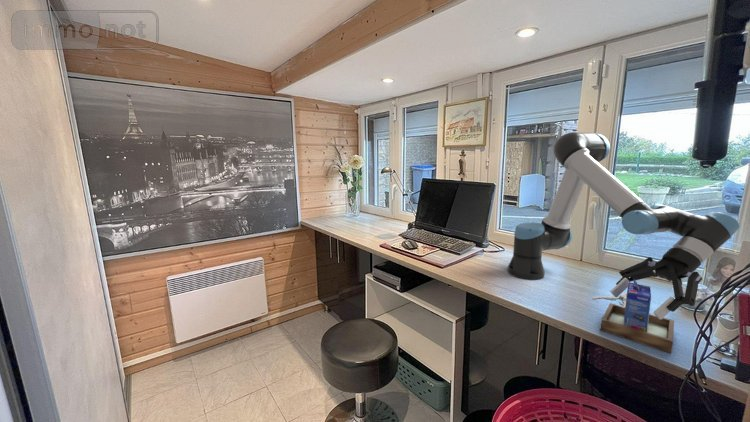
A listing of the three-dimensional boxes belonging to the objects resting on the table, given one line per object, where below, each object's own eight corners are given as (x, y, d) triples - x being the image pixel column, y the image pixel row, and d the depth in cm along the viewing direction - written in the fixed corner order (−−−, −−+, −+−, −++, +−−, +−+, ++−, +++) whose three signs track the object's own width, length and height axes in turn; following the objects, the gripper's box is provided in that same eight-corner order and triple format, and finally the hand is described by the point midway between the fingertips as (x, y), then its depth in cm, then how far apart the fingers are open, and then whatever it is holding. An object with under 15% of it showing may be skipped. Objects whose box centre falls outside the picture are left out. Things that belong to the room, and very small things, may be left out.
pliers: (592, 295, 111) (616, 289, 117) (591, 299, 111) (615, 292, 117) (622, 307, 102) (646, 299, 108) (621, 311, 102) (645, 303, 108)
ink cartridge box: (623, 316, 96) (629, 275, 93) (645, 322, 92) (653, 279, 90) (622, 329, 88) (628, 284, 86) (646, 336, 85) (654, 289, 82)
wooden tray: (600, 330, 90) (601, 319, 90) (608, 312, 101) (610, 303, 100) (670, 353, 79) (673, 341, 79) (672, 330, 90) (674, 320, 89)
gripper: (748, 279, 76) (687, 336, 77) (650, 251, 100) (604, 294, 101) (734, 261, 74) (672, 318, 75) (638, 236, 99) (592, 280, 100)
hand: (633, 304), depth 88 cm, fingers open, 13 cm apart
